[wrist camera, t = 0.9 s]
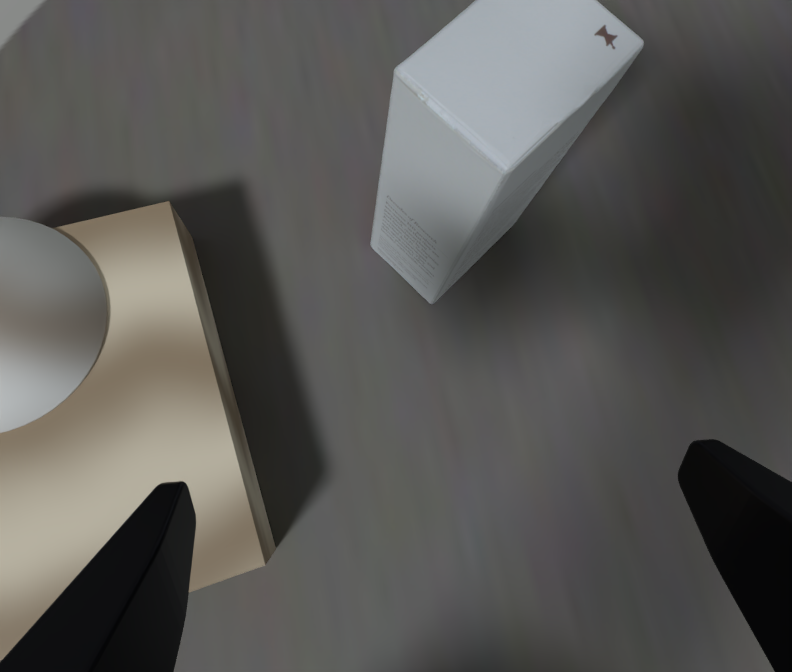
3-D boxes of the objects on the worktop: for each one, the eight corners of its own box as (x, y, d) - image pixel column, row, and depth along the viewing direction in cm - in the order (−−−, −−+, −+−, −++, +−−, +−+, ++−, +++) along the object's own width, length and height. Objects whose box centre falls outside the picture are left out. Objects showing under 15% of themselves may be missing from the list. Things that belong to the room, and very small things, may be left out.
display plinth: (276, 548, 22) (264, 566, 18) (-107, 685, 19) (-206, 735, 16) (186, 217, 24) (161, 176, 21) (-159, 300, 22) (-253, 269, 19)
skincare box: (450, 167, 27) (540, -59, 15) (513, 226, 26) (655, 40, 15) (363, 247, 25) (388, 63, 14) (429, 310, 25) (513, 177, 13)
